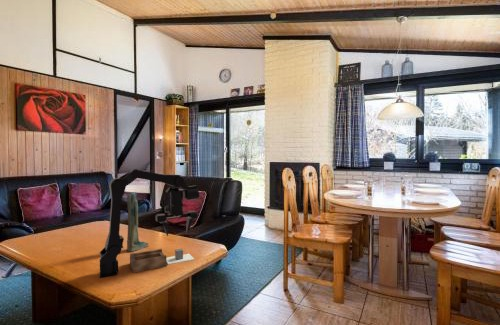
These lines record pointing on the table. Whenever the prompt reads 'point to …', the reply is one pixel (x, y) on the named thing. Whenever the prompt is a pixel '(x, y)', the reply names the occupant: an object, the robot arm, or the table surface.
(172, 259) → the cover
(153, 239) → the table surface
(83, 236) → the table surface
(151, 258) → the box
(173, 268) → the table surface
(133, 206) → the statue
